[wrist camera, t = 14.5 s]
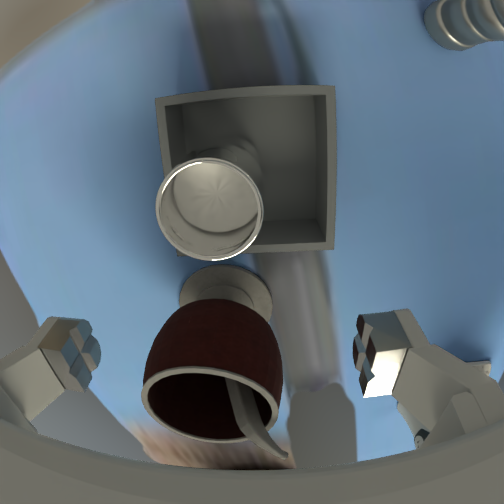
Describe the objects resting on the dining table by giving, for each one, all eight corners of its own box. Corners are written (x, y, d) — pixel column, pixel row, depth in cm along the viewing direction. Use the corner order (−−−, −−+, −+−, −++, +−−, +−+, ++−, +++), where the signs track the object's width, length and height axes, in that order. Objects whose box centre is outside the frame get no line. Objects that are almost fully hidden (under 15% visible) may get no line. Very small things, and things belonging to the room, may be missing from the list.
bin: (319, 89, 28) (334, 85, 22) (321, 222, 35) (333, 249, 29) (176, 98, 29) (154, 98, 23) (191, 228, 36) (177, 256, 30)
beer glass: (193, 135, 30) (141, 163, 17) (261, 127, 30) (261, 147, 16) (203, 198, 33) (165, 267, 20) (267, 192, 33) (271, 260, 20)
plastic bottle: (468, 51, 24) (593, 49, 6) (427, 54, 25) (557, 42, 7) (452, 4, 21) (566, -26, 4) (409, 4, 23) (522, -45, 5)
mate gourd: (160, 316, 42) (114, 435, 25) (200, 239, 37) (151, 366, 19) (255, 358, 46) (251, 479, 28) (309, 294, 40) (334, 429, 22)
